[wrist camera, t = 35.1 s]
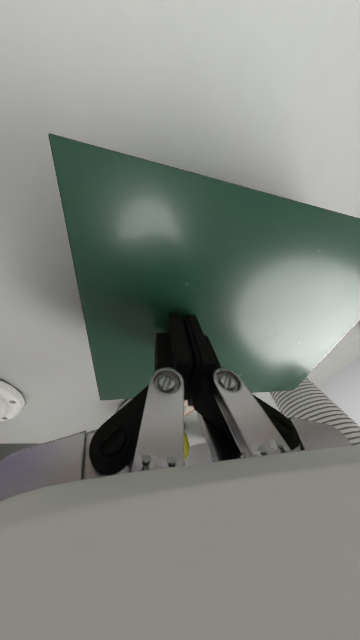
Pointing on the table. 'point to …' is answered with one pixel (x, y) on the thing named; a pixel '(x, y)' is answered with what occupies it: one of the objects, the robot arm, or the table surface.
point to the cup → (316, 409)
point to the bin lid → (202, 269)
